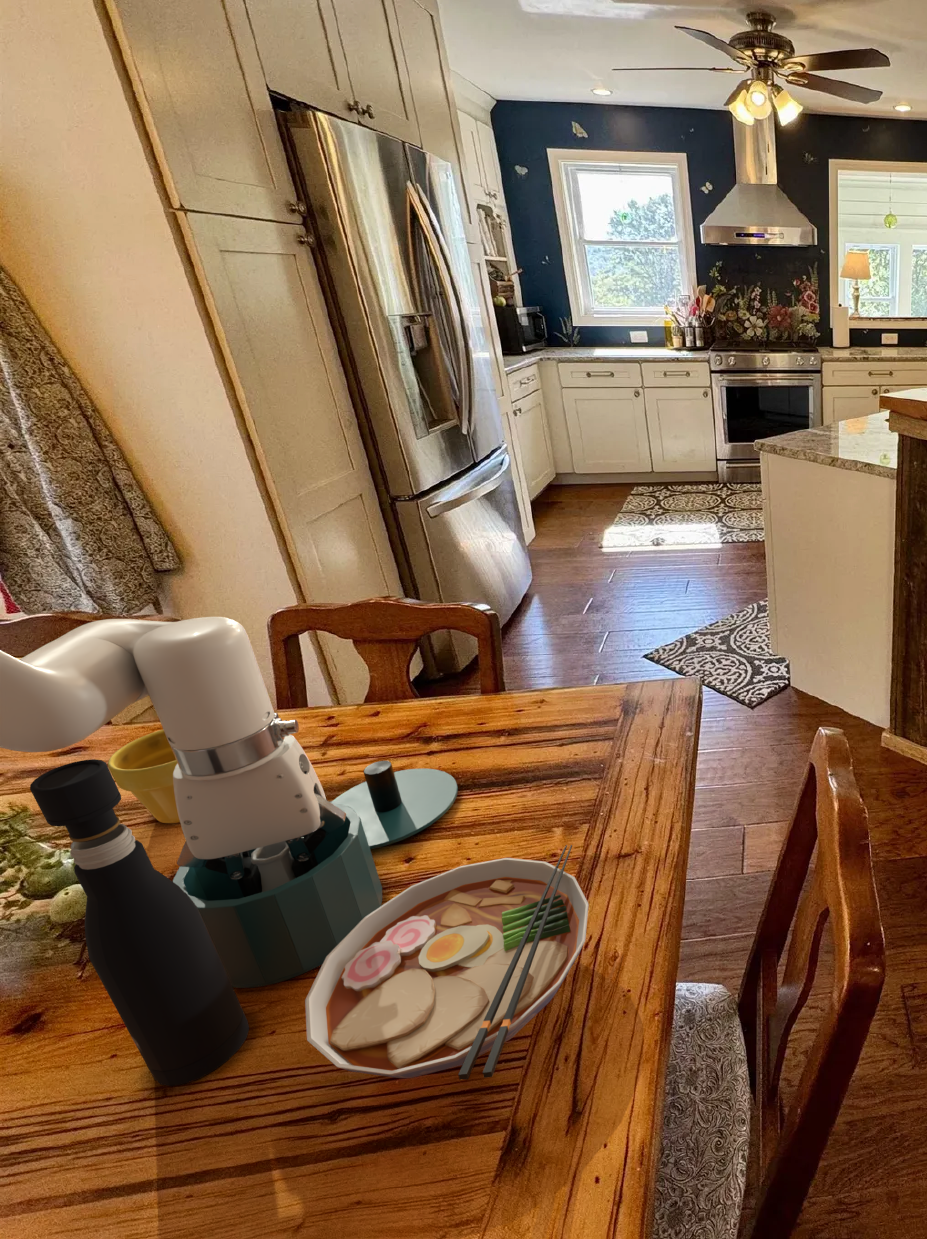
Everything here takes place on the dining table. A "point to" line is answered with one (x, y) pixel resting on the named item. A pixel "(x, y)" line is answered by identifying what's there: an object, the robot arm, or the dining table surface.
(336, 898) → the pot
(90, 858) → the dark water bottle
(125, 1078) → the dining table surface
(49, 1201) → the dining table surface
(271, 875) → the flask
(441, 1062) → the ramen bowl
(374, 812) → the lid
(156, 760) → the flower pot
